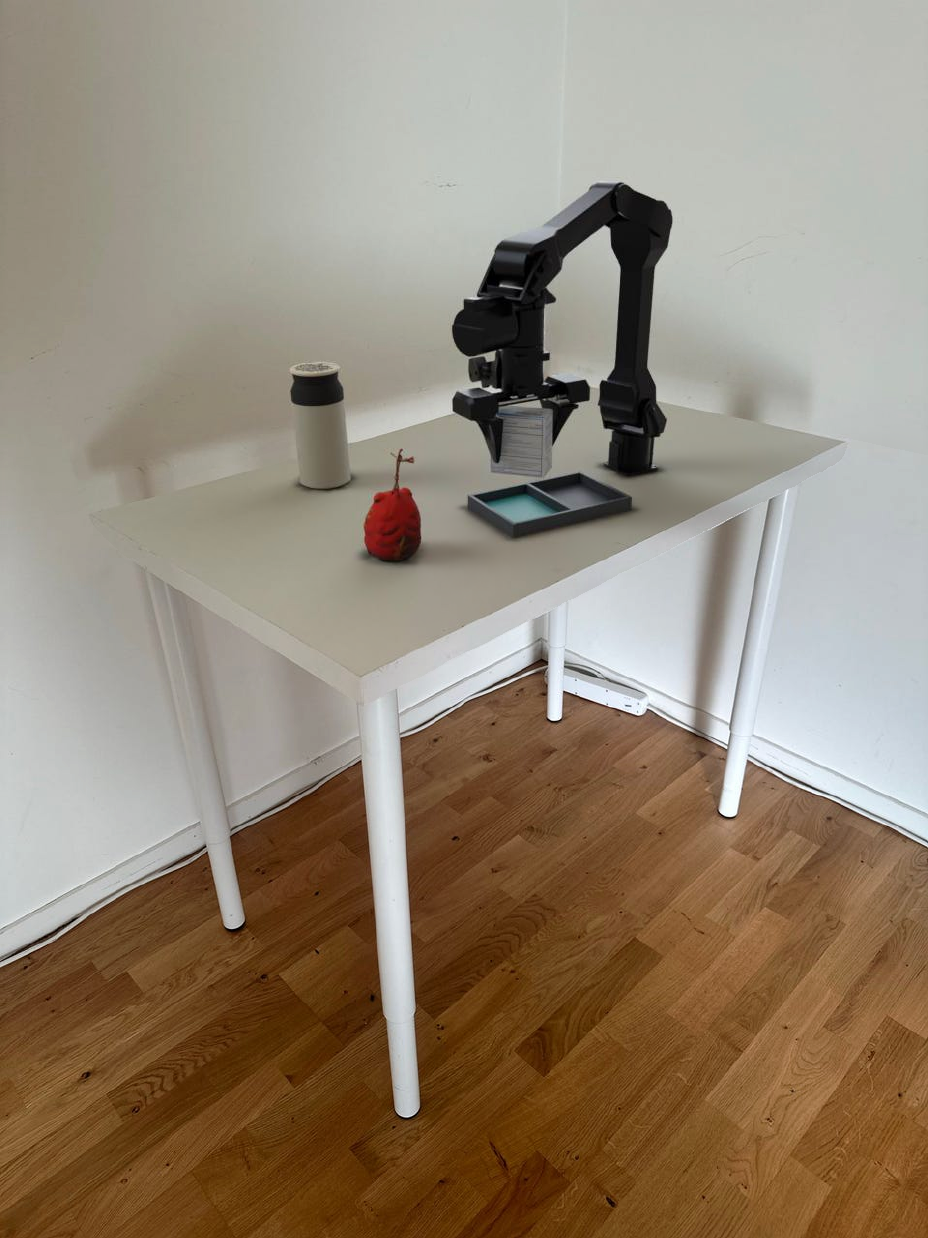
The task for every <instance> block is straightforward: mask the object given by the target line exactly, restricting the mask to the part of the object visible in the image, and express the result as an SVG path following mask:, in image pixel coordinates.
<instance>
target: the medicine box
mask: <svg viewBox="0 0 928 1238" xmlns="http://www.w3.org/2000/svg"><path fill="white" fill-rule="evenodd" d="M497 416H498V417H501V418H503V419H504V421H503V434H502V447H501V457H500V461H499V463H497V464H496V463H495V462H493V460H492V457H491V454H490V453H489V458H490V459H489V460H490V462H489V463H490V465H489V466H490V469H489V471H490V474H501V475H511V476H522V477H531V478H532V477H533V478H541V479H545V477H546V476H547V474H548V473H549V472H550V470H551V469H552V468H553V447H552V429H553V410H552V409H545V408H542V407H533V406H532V407H531V406H516V405H508V406H502V407H499V412H498V413H497Z"/></svg>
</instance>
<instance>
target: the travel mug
mask: <svg viewBox="0 0 928 1238" xmlns="http://www.w3.org/2000/svg"><path fill="white" fill-rule="evenodd" d="M340 369H341V366H340V365H339V364H338V363H335V362H330V361H309V362H302V363H298V364H295V365H292V366H291V367H290V368H289V373H290V374H291V377H292V380H293V383H292V385H291V388H290V390H289V392H290V402H291V410H292V412H291V413H292V419H293V429H294V439H295V447H296V455H297V464H298V474H299V482H300V484H301V485H302V486H304V487H307V488H311V489H316V490H330V489H335V488H339V487H342V486H344V485H345V484H347V483H348V482H350V481H351V479H352V475H351V466H350V464H351V463H350V453H349V443H348V442H349V441H348V431H347V430H348V428H347V416H346V404H345V393H344V392H345V391H344V386H343V385H342V383H341V382H340V380H339V371H340Z"/></svg>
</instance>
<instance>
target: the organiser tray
mask: <svg viewBox="0 0 928 1238" xmlns="http://www.w3.org/2000/svg"><path fill="white" fill-rule="evenodd" d="M632 506H633V496H631V495H630V494H627V493H625V492H623V491H621V490H619V489H617V488H615V487H613V486H611V485H609V484H607V483H605V482H603V481H601V480H600V479H597V478H595V477H593V476H591V475H589V474H587V473H585V472H583V471H582V470H578V471H574V472H570V473H566V474H560V475H556V476H551V477H547V478H541V479H536V480H532V481H527V482H523V483H519V484H513V485H509V486H504V487H503V486H502V487H499V488H495V489H489V490H485V491H481V492H480V491H479V492H475V493H471V494H468V495H467V509H469V510H470V511H472V512H473V513H474V514H476V515H478V516H479V517H481V518H482V519H483V520H485V521H486V522H488V523H490V524H492V525H493V526H494V527H495V528H498V529H499V530H500V531H502V532H503V533H504V534H506V535H508V536H509V537H511V538H512V539H517V538H520V537H524V536H528V535H532V534H537V533H540V532H544V531H549V530H553V529H557V528H561V527H566V526H569V525H570V526H571V525H574V524H578V523H583V522H586V521H591V520H595V519H599V518H604V517H607V516H612V515H616V514H619V513H620V514H621V513H624V512H628V511H632V509H633V508H632Z"/></svg>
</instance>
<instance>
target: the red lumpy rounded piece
mask: <svg viewBox="0 0 928 1238" xmlns="http://www.w3.org/2000/svg"><path fill="white" fill-rule="evenodd" d="M403 451H404V448H399V451H398V454H397V455H395V454H394V453H393V452H390V455H391V456H392V457H394V458H395V459H396V461H395V462H396V463H395V472H394V473H393V474H392V476H393V479H394V483H393V484H394V485H393V488H392V489H391V490H386V491H385V490H384V491H379V492H376V493H375V494H374V496H373V502H372V504H371V506H370V507H369V510H368V512H367V513H366V515H365V517H364V518H365V519H364V522H363V530H364V537H363V538H364V539H363V541H364V542H363V543H364V545H365V547H366V550H367V554H369V555H371V556H373V558H376V559H378V560H381V561H384V562H386V561H387V562H389V561H390V562H394V561H395V562H396V561H397V562H398V561H404V560H407V559H409V558H411V557H412V556H413V555H415V553H416V552H417V551H418V549H419V547H420V546H421V543H422V531H421V530H422V529H421V528H422V518H421V514H420V513H421V512H420V510H419V507H418V505H417V503H416V500H415V499H414V498H413V492H412V491H411V489H409V488H408V487H405V486H404V487H401V488H400V485H399V479H400V475H399V474H400V473H399V472H400V467H401V463H409V464H414V463H415V458H414V456H413V455H412V456H410V457H407V458H406V457H403V455H402V454H401V453H402V452H403Z"/></svg>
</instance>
